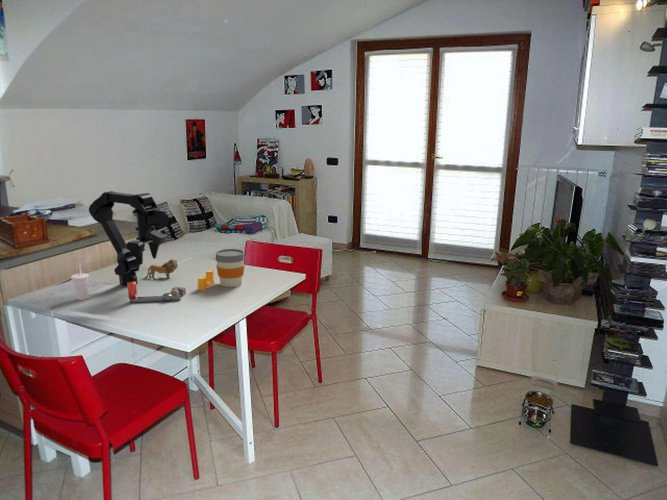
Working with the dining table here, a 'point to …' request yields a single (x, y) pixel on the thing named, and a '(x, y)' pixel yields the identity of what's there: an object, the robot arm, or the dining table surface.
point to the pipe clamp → (206, 280)
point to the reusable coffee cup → (230, 267)
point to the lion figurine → (163, 268)
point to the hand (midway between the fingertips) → (147, 261)
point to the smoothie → (81, 284)
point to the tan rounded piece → (175, 292)
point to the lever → (133, 296)
